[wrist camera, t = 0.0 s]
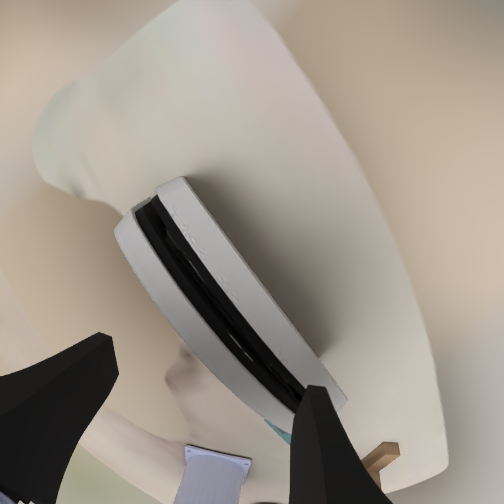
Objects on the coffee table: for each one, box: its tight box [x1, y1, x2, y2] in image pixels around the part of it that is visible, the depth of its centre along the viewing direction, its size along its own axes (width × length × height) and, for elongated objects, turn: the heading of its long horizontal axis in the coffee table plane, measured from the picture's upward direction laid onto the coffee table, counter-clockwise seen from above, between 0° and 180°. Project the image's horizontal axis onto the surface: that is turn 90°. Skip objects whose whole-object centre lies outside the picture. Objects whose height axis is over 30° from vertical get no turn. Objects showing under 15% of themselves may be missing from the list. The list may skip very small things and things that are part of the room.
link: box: [361, 442, 400, 489], centre depth 24 cm, size 14×5×5 cm, turn 161°
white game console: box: [114, 176, 348, 434], centre depth 15 cm, size 17×5×10 cm, turn 35°
